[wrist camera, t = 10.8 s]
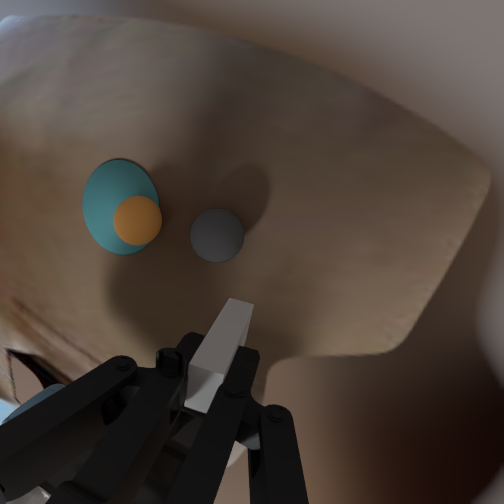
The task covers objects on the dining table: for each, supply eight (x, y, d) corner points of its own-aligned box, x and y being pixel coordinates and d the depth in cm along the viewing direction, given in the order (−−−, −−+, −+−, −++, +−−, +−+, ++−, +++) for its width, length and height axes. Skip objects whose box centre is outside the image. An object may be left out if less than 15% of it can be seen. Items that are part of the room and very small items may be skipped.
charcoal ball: (176, 232, 28) (183, 219, 33) (206, 280, 30) (208, 261, 35) (227, 203, 28) (227, 194, 33) (256, 253, 30) (251, 238, 35)
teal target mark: (178, 222, 35) (177, 223, 35) (114, 270, 39) (113, 270, 38) (126, 140, 33) (125, 140, 33) (71, 196, 37) (70, 197, 37)
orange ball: (149, 234, 29) (100, 225, 29) (157, 257, 34) (114, 248, 34) (165, 189, 32) (118, 182, 31) (169, 216, 37) (128, 209, 36)
